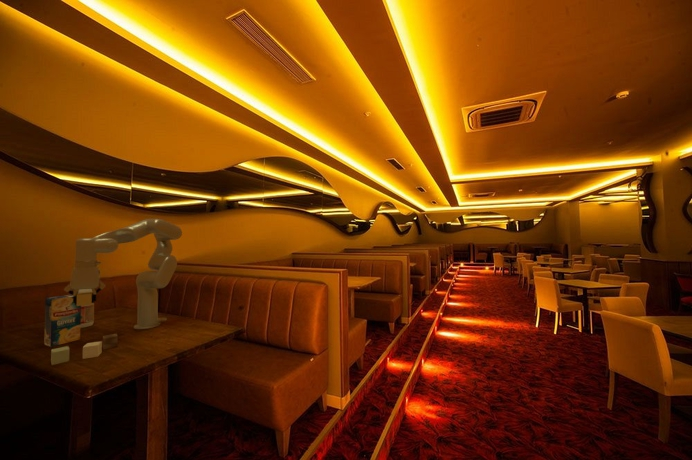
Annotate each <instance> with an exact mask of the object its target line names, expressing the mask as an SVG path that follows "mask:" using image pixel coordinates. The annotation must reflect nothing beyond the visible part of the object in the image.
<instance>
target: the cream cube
mask: <svg viewBox="0 0 692 460" xmlns="http://www.w3.org/2000/svg"><path fill="white" fill-rule="evenodd" d="M102 350H103V340H101V341H93V342H87V343H86V344H84V345H83V346H82V360H84V359H85V360H86V359H91V358H98V357H99V356H100V355H101V354H102V352H103V351H102Z"/></svg>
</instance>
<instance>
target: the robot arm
mask: <svg viewBox="0 0 692 460" xmlns="http://www.w3.org/2000/svg"><path fill="white" fill-rule="evenodd" d="M150 234H151V235H152V234H153V236H154V239H155V240H156V247H155V249H154V252H153V253H152V255H151V257H150V258H149V260H148V263H147V265H148V269H150V270H147V271H142V272H140V273H138V275H137V276H136V278H135V283H136V288H137V319H136V320H137V322H136V323H137V324H135V325H133V329H135V330H149V329H153V328H157V327H159V326H161V322H167V319H168V318H167V317H159V315H158V313H159V311H158V310H159V308H158V307H159V293H158V289H164V288H165V287H166V286H168V284H169V283H170V281H171V279H172V277H173V275H174V273H175V271H176V269H177V267H178V260H177V257H175V255H172V252H173V245H172V241H176V240H179V239H180V238H181V237H182V235H183V231H182V229H181V227H180V226H178V225H176V224H174V223H172V222H170V221H166V220H164V219H161V218H146V219H143V220H140V221H137V222H135V223H133V224H130V225H128V226H125V227H122V228H118V229H115V230H111V231H107V232H104V233H102V234H98V235H95V236H94V237H92V238H91V237H90V238H77V239H76V240H75V248H74V249H75V251H74V255H75V256H74V260H75V261H74V267H73V268H72V270H71V274H70V282H69V283H68V284H67V285H66V286H65V287H64V288H63V291H64V292H66V293H68V294H69V295H73V296H74V303H75V305H77V295H78V292H79V289H92V292H93V293H92V303H94V304H95V302H97V294H99V292H100V291H102V290H104V288H106V284H105V283H104V282H102V280H101V272H100V267H99V265H101V261H98V259H97V258H98V257H97V256H98V255H97V254H111V253H113V252H115V251H117V250H118V247H119V244H125V243H126V244H127V243H132V242H135V241H138V240H139V239H140V240H141V238H142V239H143V238H144V237H146V236H148V235H150ZM98 287H99V288H98Z"/></svg>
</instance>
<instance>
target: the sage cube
mask: <svg viewBox="0 0 692 460" xmlns="http://www.w3.org/2000/svg"><path fill="white" fill-rule="evenodd" d="M50 351H51V352H50V363H51V366H54V365H57V364H58V365H59V364H62V363H66V362H70V351H71V350H70V347H69V345H66V346H62V347H58V348H52V349H51V350H50Z"/></svg>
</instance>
